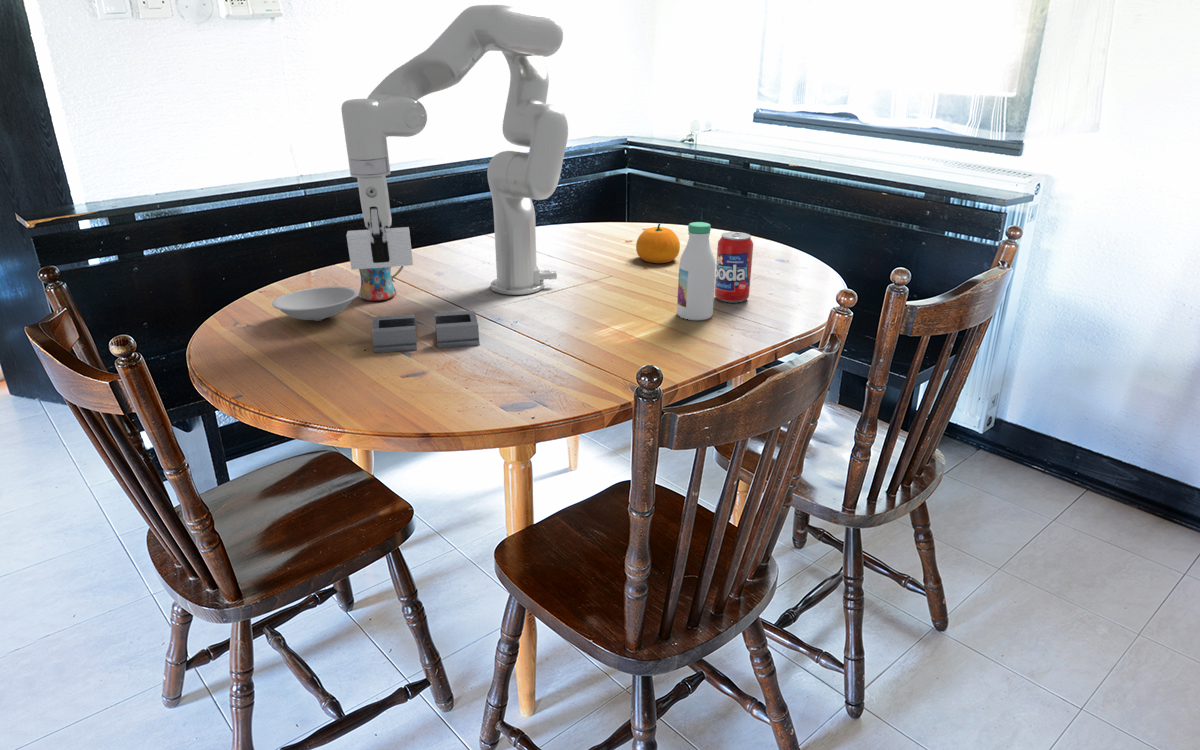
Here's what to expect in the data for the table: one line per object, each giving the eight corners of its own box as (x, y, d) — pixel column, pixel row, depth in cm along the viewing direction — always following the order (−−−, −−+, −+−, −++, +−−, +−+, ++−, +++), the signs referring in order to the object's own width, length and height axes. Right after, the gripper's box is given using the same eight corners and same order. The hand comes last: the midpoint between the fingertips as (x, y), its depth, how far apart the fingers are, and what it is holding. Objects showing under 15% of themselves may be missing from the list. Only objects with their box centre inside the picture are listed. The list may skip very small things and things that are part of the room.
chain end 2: (475, 327, 164) (474, 309, 162) (479, 345, 155) (478, 325, 153) (436, 330, 162) (434, 312, 161) (438, 348, 153) (436, 328, 152)
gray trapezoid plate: (412, 260, 164) (408, 226, 161) (412, 265, 161) (408, 231, 158) (352, 264, 162) (347, 230, 159) (351, 269, 158) (346, 235, 155)
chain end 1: (416, 332, 161) (414, 313, 160) (416, 349, 153) (415, 330, 151) (375, 335, 160) (373, 316, 158) (373, 353, 151) (371, 333, 149)
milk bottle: (715, 312, 174) (721, 221, 166) (708, 323, 167) (714, 229, 159) (681, 308, 176) (685, 218, 168) (672, 319, 170) (676, 226, 162)
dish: (292, 338, 158) (288, 315, 156) (264, 320, 168) (260, 298, 166) (373, 319, 169) (370, 296, 167) (342, 303, 178) (340, 281, 176)
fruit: (687, 258, 215) (688, 222, 211) (666, 268, 206) (667, 230, 202) (649, 252, 220) (650, 216, 216) (627, 262, 211) (628, 224, 207)
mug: (366, 306, 177) (361, 259, 172) (351, 295, 183) (345, 250, 179) (416, 296, 183) (412, 251, 179) (399, 286, 190) (395, 243, 186)
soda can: (752, 296, 184) (758, 233, 178) (743, 306, 177) (748, 240, 171) (720, 292, 187) (724, 229, 181) (709, 301, 180) (713, 236, 174)
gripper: (388, 173, 146) (400, 269, 154) (390, 159, 161) (400, 247, 169) (346, 175, 145) (360, 272, 152) (351, 160, 159) (364, 249, 167)
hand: (381, 258), depth 160 cm, fingers closed on gray trapezoid plate, 3 cm apart
